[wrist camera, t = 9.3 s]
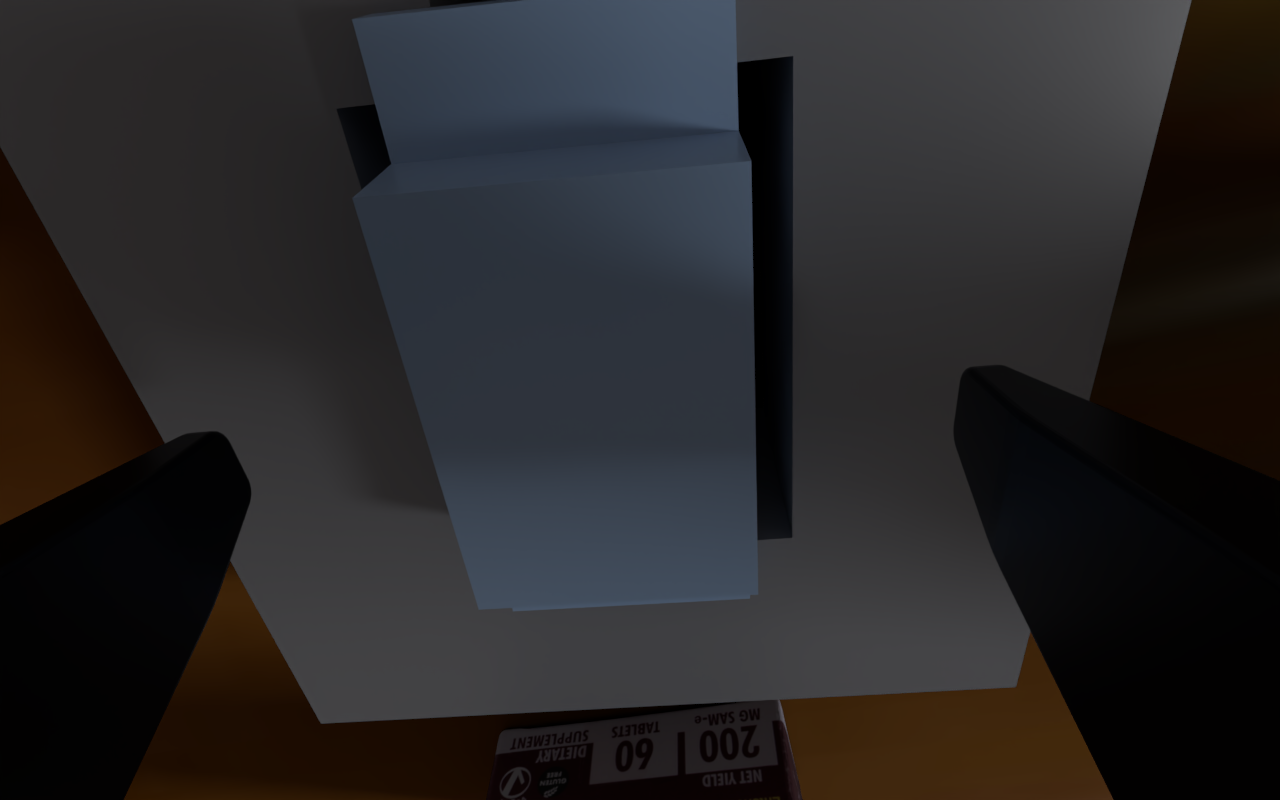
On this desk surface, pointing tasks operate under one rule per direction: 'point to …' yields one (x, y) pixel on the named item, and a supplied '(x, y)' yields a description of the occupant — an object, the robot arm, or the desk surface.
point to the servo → (574, 290)
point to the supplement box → (652, 757)
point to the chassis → (790, 327)
